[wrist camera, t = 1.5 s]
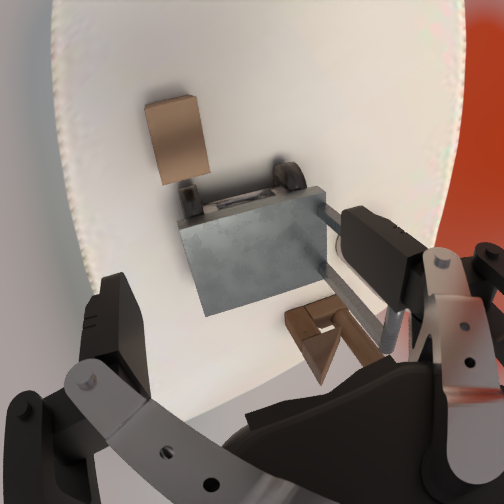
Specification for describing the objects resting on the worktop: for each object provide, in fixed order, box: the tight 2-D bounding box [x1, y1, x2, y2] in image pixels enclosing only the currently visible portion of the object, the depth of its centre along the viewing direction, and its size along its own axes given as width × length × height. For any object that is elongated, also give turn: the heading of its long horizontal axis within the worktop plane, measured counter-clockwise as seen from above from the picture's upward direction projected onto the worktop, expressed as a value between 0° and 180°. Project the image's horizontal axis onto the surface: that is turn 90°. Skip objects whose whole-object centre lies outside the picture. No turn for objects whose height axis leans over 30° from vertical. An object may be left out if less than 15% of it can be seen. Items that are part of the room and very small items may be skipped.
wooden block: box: [285, 294, 385, 385], centre depth 48 cm, size 4×11×18 cm, turn 98°
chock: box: [145, 95, 211, 185], centre depth 31 cm, size 8×5×6 cm, turn 8°
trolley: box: [177, 162, 405, 354], centre depth 33 cm, size 16×16×23 cm
